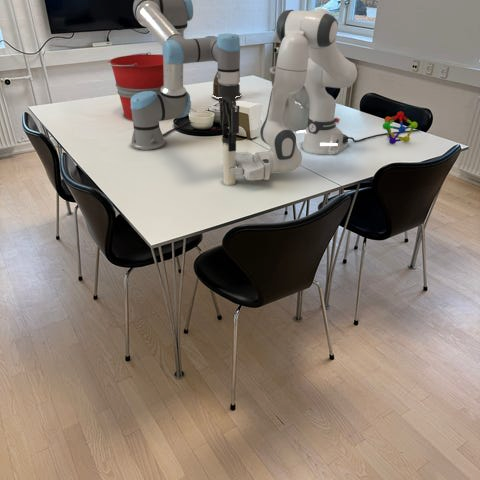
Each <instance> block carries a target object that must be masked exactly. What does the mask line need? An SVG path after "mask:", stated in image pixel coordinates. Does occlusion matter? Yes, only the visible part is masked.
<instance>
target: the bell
mask: <svg viewBox="0 0 480 480" xmlns="http://www.w3.org/2000/svg"><path fill="white" fill-rule="evenodd" d="M217 74H218V70H217V71H216V73H215V75H214V78H213V81H212V83H213V84H212V95H214V96H216V97H221V96H219V95H218V84H219V82H218V77H217ZM240 95H241V96H242V93H241V92H240V94H239V95H238V96H240Z"/></svg>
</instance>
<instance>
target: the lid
mask: <svg viewBox="0 0 480 480" xmlns="http://www.w3.org/2000/svg"><path fill="white" fill-rule="evenodd" d="M221 136H222V137H221V142H222V144H223V143H226V144H228V135H223V134H222V135H221Z"/></svg>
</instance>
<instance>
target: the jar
mask: <svg viewBox="0 0 480 480" xmlns="http://www.w3.org/2000/svg"><path fill="white" fill-rule="evenodd" d="M236 151H237V150H236ZM236 151H230V152H229V151H228V144H226V143H223V142H222V161H223V162H222V163H223V164H222V167H223V168H222V169H223V171H222V173H223V174H222V175H223V176H222V177H223V178H222V179H223V184H224V185H226V186H233V185H236V183H237V182H236V179H237V178H236V175H237V173H230V172H229V168H231V167H234V168H237V167H236V153H237V152H236Z"/></svg>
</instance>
